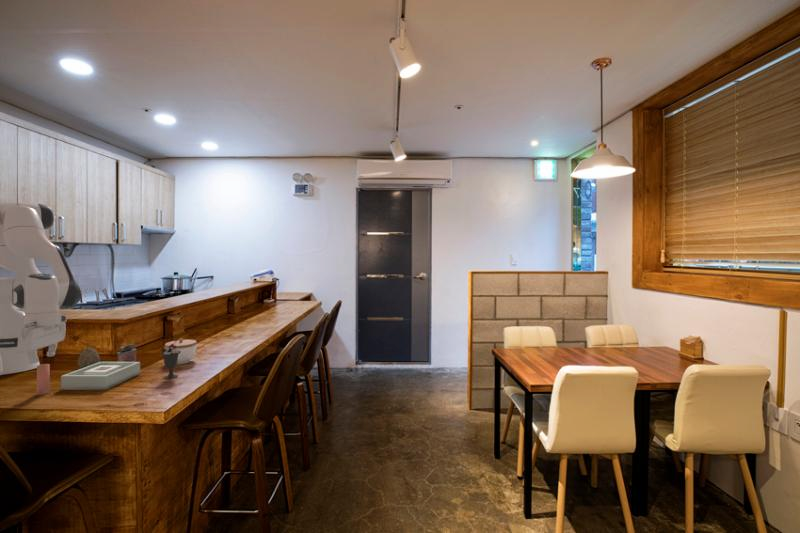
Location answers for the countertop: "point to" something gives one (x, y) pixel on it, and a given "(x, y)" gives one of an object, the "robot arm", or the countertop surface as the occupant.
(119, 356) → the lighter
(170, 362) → the sundae
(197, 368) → the countertop surface
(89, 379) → the box
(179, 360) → the lidded bowl
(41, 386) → the dowel
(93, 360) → the decorative egg
